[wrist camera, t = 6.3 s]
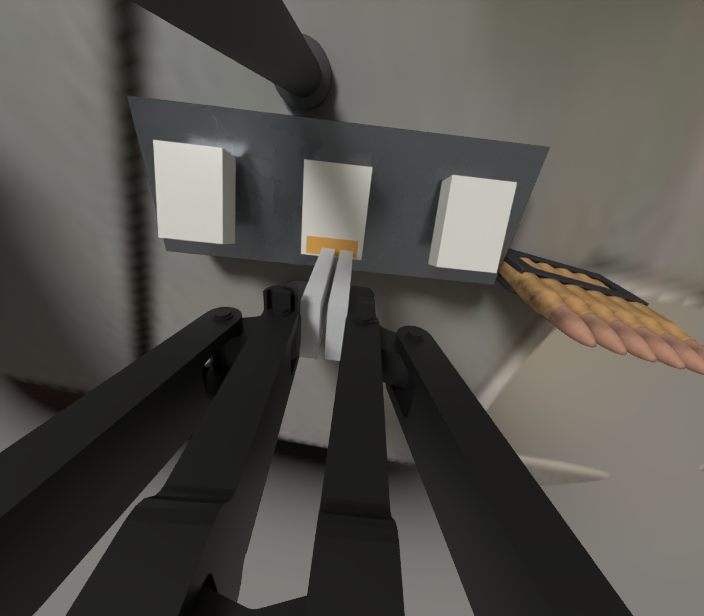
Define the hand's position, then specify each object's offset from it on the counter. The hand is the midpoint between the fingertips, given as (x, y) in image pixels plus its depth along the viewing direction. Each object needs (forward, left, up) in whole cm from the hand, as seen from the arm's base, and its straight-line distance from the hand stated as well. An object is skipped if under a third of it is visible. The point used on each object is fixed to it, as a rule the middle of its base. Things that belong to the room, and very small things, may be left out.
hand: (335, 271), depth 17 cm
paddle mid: (0, +3, -2) cm, 3 cm away
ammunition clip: (+18, -1, -8) cm, 19 cm away
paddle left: (-8, +3, -2) cm, 9 cm away
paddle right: (+8, +3, -2) cm, 8 cm away
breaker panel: (0, +3, -8) cm, 8 cm away
